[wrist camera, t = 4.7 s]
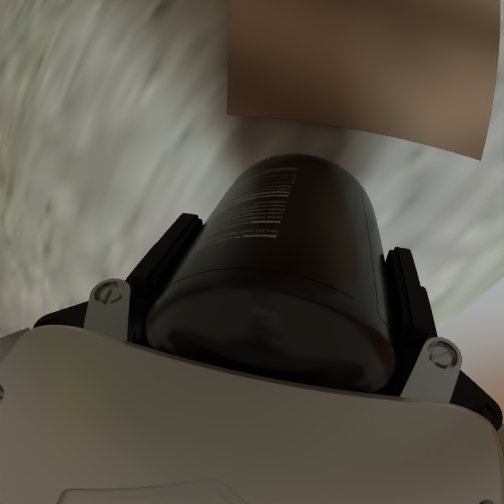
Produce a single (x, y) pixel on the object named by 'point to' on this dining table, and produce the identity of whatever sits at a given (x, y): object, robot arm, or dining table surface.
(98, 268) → the dining table surface
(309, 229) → the supplement bottle
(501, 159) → the dining table surface
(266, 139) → the dining table surface
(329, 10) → the walnut board
